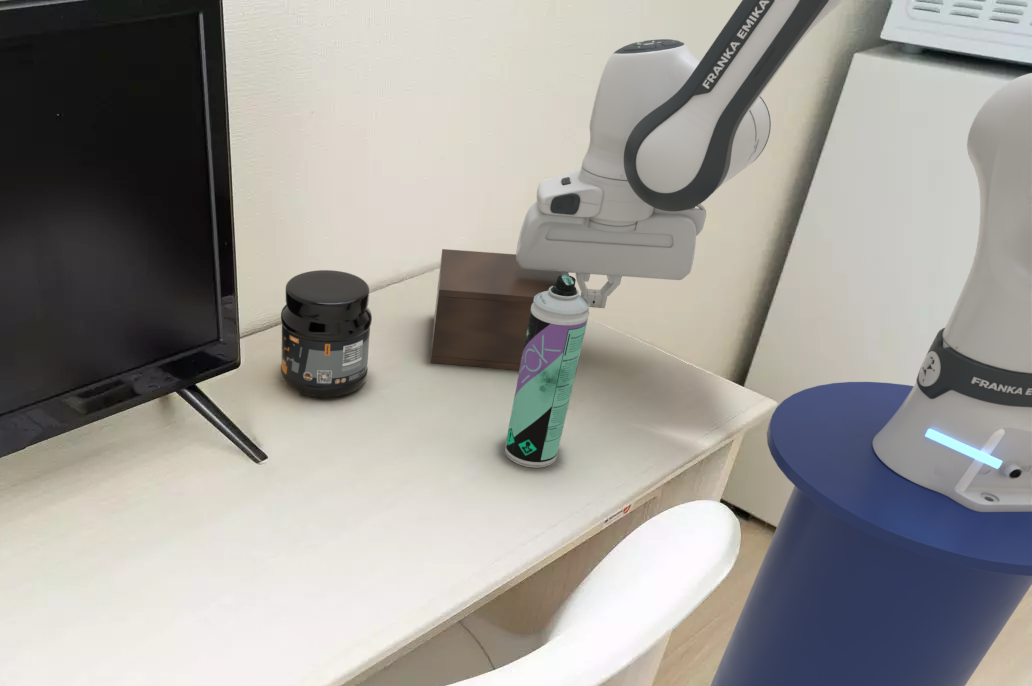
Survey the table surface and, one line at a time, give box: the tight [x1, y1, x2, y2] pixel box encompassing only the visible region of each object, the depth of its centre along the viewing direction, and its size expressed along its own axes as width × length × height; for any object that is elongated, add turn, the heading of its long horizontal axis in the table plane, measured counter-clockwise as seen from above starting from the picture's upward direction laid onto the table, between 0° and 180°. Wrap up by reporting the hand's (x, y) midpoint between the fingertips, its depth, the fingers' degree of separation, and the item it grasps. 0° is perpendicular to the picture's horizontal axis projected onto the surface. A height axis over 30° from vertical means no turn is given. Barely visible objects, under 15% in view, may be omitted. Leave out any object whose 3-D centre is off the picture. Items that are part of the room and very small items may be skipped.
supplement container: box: [280, 269, 373, 398], centre depth 109 cm, size 10×10×12 cm
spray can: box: [504, 274, 591, 469], centre depth 94 cm, size 6×6×20 cm
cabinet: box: [430, 248, 562, 371], centre depth 117 cm, size 15×13×10 cm
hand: (591, 305), depth 115 cm, fingers closed
